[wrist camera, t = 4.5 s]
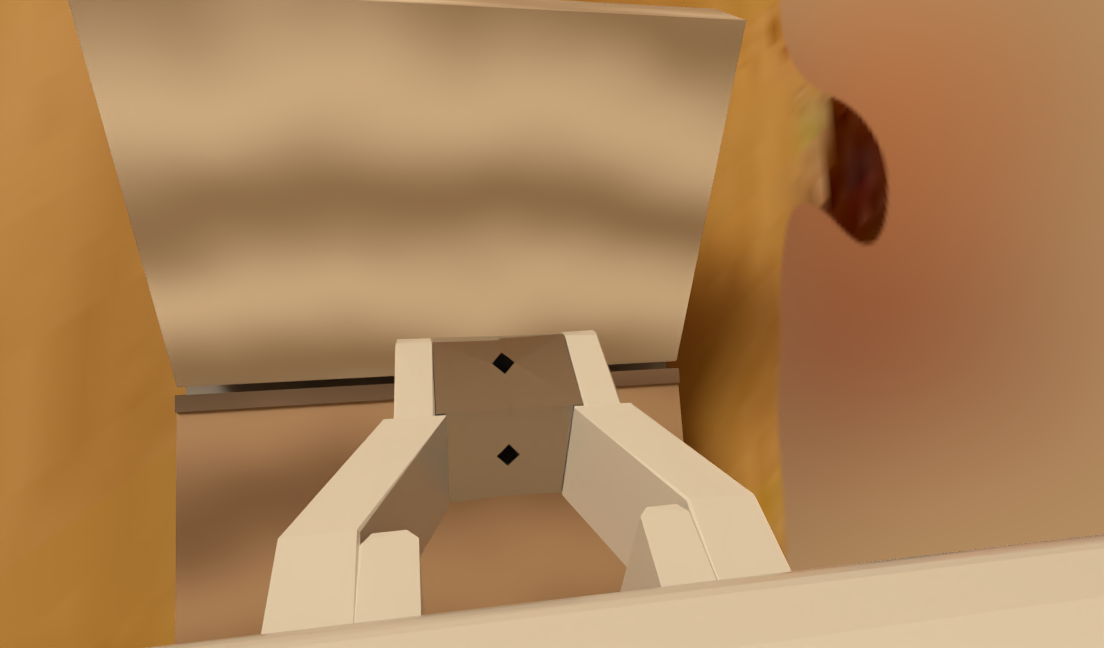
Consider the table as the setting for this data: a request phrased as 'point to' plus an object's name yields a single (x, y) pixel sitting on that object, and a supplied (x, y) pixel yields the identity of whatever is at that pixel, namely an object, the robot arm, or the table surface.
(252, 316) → the plank
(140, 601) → the table surface
